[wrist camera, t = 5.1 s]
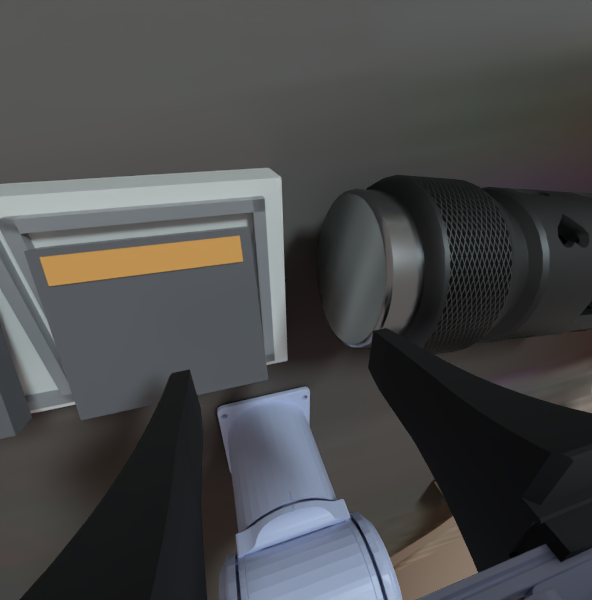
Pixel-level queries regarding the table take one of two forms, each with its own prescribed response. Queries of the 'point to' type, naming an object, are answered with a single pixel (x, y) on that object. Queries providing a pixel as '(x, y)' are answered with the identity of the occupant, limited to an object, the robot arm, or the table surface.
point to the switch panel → (120, 225)
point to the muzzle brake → (455, 263)
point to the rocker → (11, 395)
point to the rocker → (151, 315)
